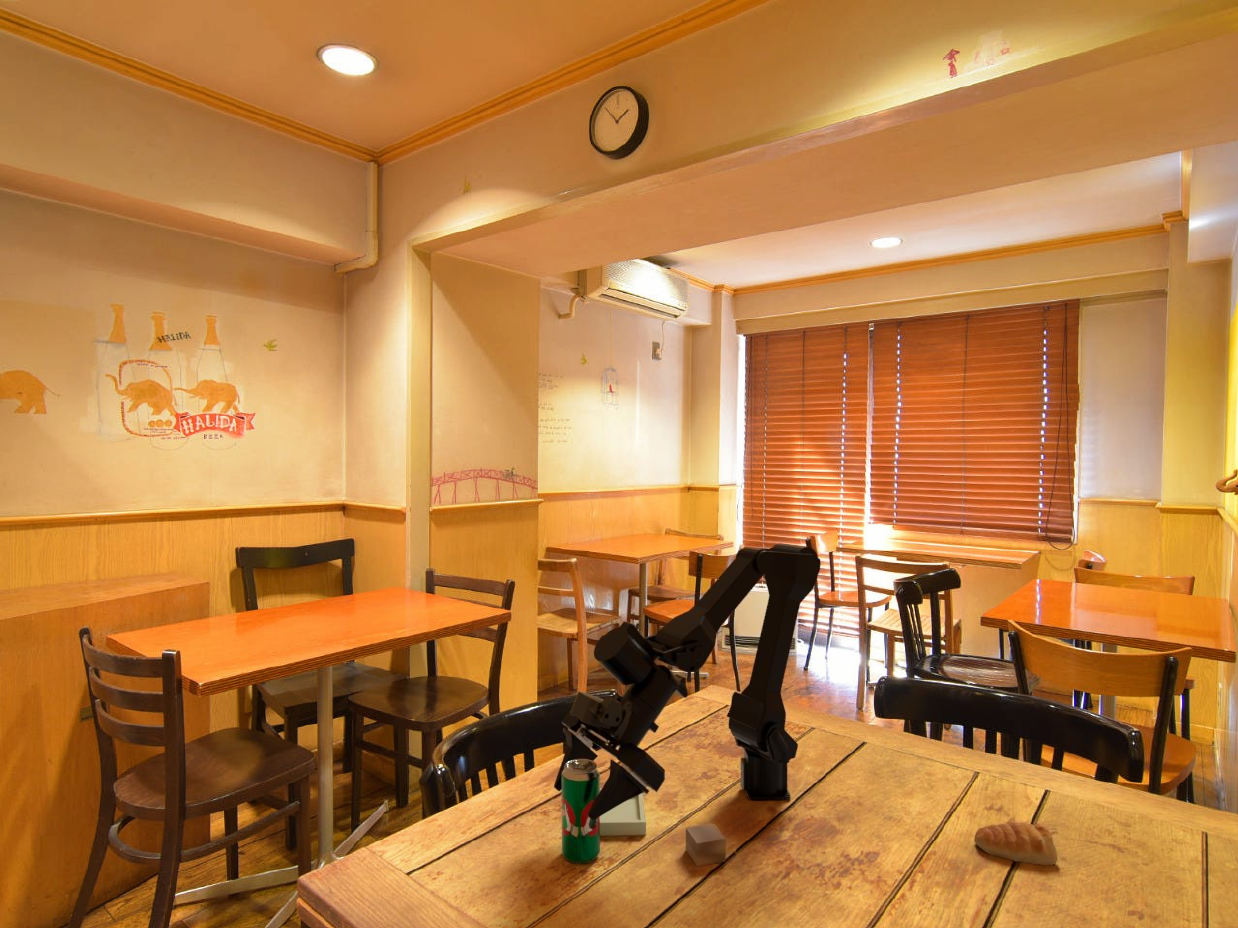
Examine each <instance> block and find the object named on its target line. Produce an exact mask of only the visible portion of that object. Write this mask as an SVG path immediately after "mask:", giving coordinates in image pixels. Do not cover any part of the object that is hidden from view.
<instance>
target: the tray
mask: <svg viewBox="0 0 1238 928" xmlns="http://www.w3.org/2000/svg"><path fill="white" fill-rule="evenodd" d="M602 788H603V787H600V791H601V789H602ZM646 835H647V819H646V810H645V801H644V793H641V794H639V795H637V796H635V797H633V798H631V799H629V800H627V801H625V802H623V803H622V804H620V805H618V806H616V807H615V808H613V809H611V810H610V811H608V812H606V813H605V814H603V815H601V816H600V837H601V836H646Z"/></svg>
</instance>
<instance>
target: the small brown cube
mask: <svg viewBox="0 0 1238 928" xmlns="http://www.w3.org/2000/svg"><path fill="white" fill-rule="evenodd" d="M726 843H727V842H726V837H725V836H724V835H723V834H722V832H720V830H719V829H718V827H717V826H716V825H715V824H714V823H708V824H701V825H695V826H689V827H688V826H687V827H685V851H686V853H687V854H688V855H689V857H690V858H691V860H692V862H693V863H694V864H695V866H696V867H700V866H701V865H702V866H707V865H708V866H709V865H712V864H713V865H714V864H720V863H724V862H726V860H727V859H726V851H727V849H726V846H727V845H726Z"/></svg>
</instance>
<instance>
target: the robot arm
mask: <svg viewBox="0 0 1238 928" xmlns="http://www.w3.org/2000/svg"><path fill="white" fill-rule="evenodd" d="M821 564H822V563H821V558H819V555H818V553H817V552H816V550H815V549H814V548H812V547H809V546H802V545H795V544H788V543H782V542H779V543H776V544H775V545H774V546H772V547H769V548H763V547H761V548H760V547H749V546H746V547H742V548H741V549H739V550H738V551H737V552H736V554H735V558H734V560H733V561H731V563H730V564H729V566H728V567H727V568H726V569H725V570H724V571H722V572H723V573H722V574H720V576H719V577H718V578H717V579H716V580H715V582H713V584H712V585H711V586H710V587H709V588H708V590H707V591H706V592H705V593H704V594H703V595H702V596H701V598H700V599H699V600H698V601H697V602H696V604H695V605H694V606H692V607H691V608H690V609H689V610H687V611H684V612H683V613H681V614H678V615H676V616H674V617H673V618H671V620H669V621H667V623H665V625H663V626H662V627H661V628H660V629H659V630H658V631H657V632H656V633H654V634H651V635H648V636H646V637H644V636H643V635H642V634H641V633H640V632H639V629H638V628H637V627H636V626H635V625H634V624H633V623H631V622H628V621H625V620H624V621H622V623H621V625H620V626H619V627H615V628H613V629H610V630H609V631H608V632H606V633H605V634H604V635H601V636H600V638H599V639H598V641H597V642H596V644H595V646H594V649H593V657H594V659H595V660H596V661H597V662H598V663H599V664H600V665H601V666H602V667H603V668H604V669H605V670H606V671H607V672H608V673H609V674H610V675H611V676H612V677H613V678H615V679H616V681H617V682H618V683H619V684H620V685H622V686H627V688H626V690H625V691H624V692H623V694H622V695H620V694H618V693H615V694H613V695H611V697H609V696H606V697H605V698H604V699H603V698H601V697H598V696H595V695H592V694H589V693H586V692H584V691H578V692H577V694H576V697H575V700H574V702H573V704H572V707H571V710H570V711H568V713H566V715H565V717H564V718H563V719H562V720H561V724H562V725H564V726H565V727H563V730H562V731H563V733H564V734H565V741H566V748H565V751H564V755H563V758H562V761H561V764H560V767H559V769H558V772H557V776H556V778H555V781H554V783H553V788H554V789H555V790H556V791H558V792H562V772H563V770H564V769H565V768H564V766H565V764H566V763H567V762H568V761H571V760H574V759H589V760H592V761H594V762H595V760H596V759H597V758H598V757H599V755H598V754H597V753H596V752H598V751H601V750H603V751H605V752H606V753H608V754H610V755H611V756H613V757H614V758H615V759H616V760H617V761H618V762H616V761H615V760H613V759H610V764H609V775H608V778H607V780H606V781H605V783H604V784H603V786H602V787H601V788H602V789H601V791H600V792H599V794H598V796H597V797H596V799H595V801H594V802H593V804H592V806H591V808H590V810H589V812H588V814H587V815H588V817H589V818H591V819H592V820H595V819H596V818H598V817H600V816H601V815H603V814H605V813H606V812H608V811H610V810H611V809H613V808H615V807H616V806H618V805H620V804H622V803H623V802H625V801H627V800H629V799H631V798H633V797H635V796H637V795H639V794H641V793H643V794H644V793H645V794H646V795H647V794H649V792H650V790H649V789H648V788H650V789H651V790H652V791H654V792H656V793H657V792H658V791H659V790H660V788H662V786H663V784H664V782H665V781H666V769H665V768H664V767H663V766H661V764H659V762H657V760H655V759H654V758H653V757H652V756H651V755H650V754H649V753H648V752H647V751H645V750H644V749H642V748H641V747H639V745H640V744H641V742H642V741H643V739H644V738H645V737H646V735H647V734H648V732H649V731H650V732H652V733H653V734H655V733H656V732H657V731H658V730H659V725H658V724H657V723H656V721H657V719H658V718H659V716H660V715H661V713H662V711H663V710H664V709H665V707H666V706H667V704H668V703H669V702H670V700H671V699H672V698H673V696H674V694H675V695H678V696H680V697H682V698H684V699H686V698H688V697H689V694H688V693H689V692H688V687H687V678H686V677H685V676H682V675H680V674H678V673H676V674H675V673H673V671H671V670H670V669H669V667H672V668H674V669H677V670H680V671H682V672H685V673H696V672H698V671H699V670H701V669H702V668H703V667H704V666H705V664H706V663H707V660H708V658H709V657H710V655H711V654H712V652H713V651H714V649H715V647H716V640H717V634H718V633H719V631H720V629H721V627H722V626H723V625H724V624H725V622H726V621H727V620H728V618H729V617H730V616H731V615H732V614H733V612H735V610H736V609H737V608H738V607H739V605H740V604H741V603H742V602H743V600H744V599H745V598H746V597H747V596H748V595H749V593H750V592H751V591H752V590H753V588H754V587H755V586H756V585H757V584H758V582H760V580H761V579H762V578H763V577H764V582H765V585H766V589H767V592H768V600H767V605H766V610H765V613H764V618H763V623H762V626H761V630H760V635H759V640H758V644H757V649H756V653H755V657H754V662H753V666H752V671H751V675H750V680H749V683H748V684H747V686H746V687H745V688H743V690H742V691H741V692H739V691H734V692H733V693H732V696H731V703H730V707H729V710H728V712H727V714H726V717H727V718H728V729H729V730H730V733H731V735H732V736H733V738H734V740H735V744H736V746H737V747H739V748H742V749H743V757H741V758H740V784H741V787H742V789H743V791H745V794H746V795H747V798H748V800H753V801H754V800H755V801H756V800H757V801H759V800H760V801H764V800H765V801H767V800H770V801H771V800H776V801H777V800H791V794H790V792H789V790H788V763H790V760H792V759H795V758H796V755H797V751H798V748H799V743H798V742H797V741H796V740H795V739H794V738H793V737H792V736H791V735H790V734H789V733H788V731H786V729H785V728H786V718H787V712H786V709H785V704H784V702H783V697H782V688H783V683H784V679H785V674H786V670H787V665H788V661H789V656H790V651H791V647H792V643H793V642H792V641H793V637H794V633H795V629H796V626H797V625H796V624H797V619H798V615H799V610H800V606H801V603H802V602H803V600H805V598H806V597H807V596H808V595H809V594H810V593H812V590H814V588H815V585H816V582H817V579H818V577H819V574H820V571H821ZM656 660H657V661H659V662H661V663H662V664H657V663H656V662H655V661H656ZM664 664H665V665H664ZM666 665H668V666H669V667H667V666H666ZM617 748H618V749H617ZM593 750H594V751H595V752H594V751H593ZM619 762H620V763H621V764H619Z"/></svg>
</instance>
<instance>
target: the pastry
mask: <svg viewBox="0 0 1238 928" xmlns="http://www.w3.org/2000/svg"><path fill="white" fill-rule="evenodd" d="M974 843H975V844H976V846H978V847H979V848H980V849H981V850H983V851H984V852H986V853H987V854H989V855H991V856H995V857H1000V858H1003V859H1007V860H1009V861H1012V862H1016V863H1019V862H1020V863H1027V864H1033V865H1039V864H1040V865H1041V864H1042V866H1054V865H1055V864H1056V863H1057V862H1058V861H1059V860H1058V853H1057V849H1056V845H1055V843H1054V841H1053V835H1052V833H1051V831H1050V830H1049V828H1048V827H1047V826H1045V825H1043V824H1041V823H1039V822H1037V823H1036V824H1031V823H1027V822H1019V821H1016V820H1009V821H1007V822H1005V823H1000V824H989V825H988V826H983V827H980V828H978V829H977V830H976V832H975V835H974ZM1053 864H1054V865H1053Z"/></svg>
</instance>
